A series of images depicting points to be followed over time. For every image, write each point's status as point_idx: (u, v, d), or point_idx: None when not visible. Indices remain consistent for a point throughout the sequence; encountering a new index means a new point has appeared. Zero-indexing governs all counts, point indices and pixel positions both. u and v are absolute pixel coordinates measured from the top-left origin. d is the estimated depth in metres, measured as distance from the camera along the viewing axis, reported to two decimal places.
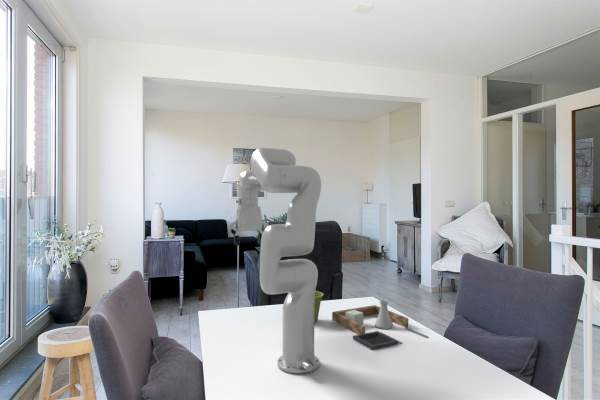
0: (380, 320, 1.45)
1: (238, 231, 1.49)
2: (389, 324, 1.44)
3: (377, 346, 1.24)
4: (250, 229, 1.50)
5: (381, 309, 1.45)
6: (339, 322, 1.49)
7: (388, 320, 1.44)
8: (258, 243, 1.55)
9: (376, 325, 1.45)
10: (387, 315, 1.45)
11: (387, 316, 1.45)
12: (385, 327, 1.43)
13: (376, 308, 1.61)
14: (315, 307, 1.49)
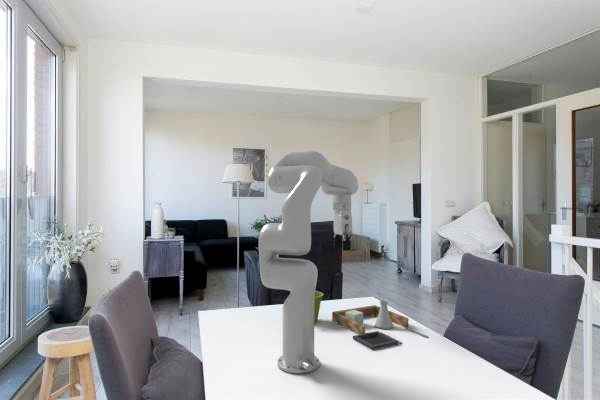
0: (380, 320, 1.45)
1: None
2: (389, 324, 1.44)
3: (377, 346, 1.24)
4: None
5: (381, 309, 1.45)
6: (339, 322, 1.49)
7: (388, 320, 1.44)
8: (337, 246, 1.58)
9: (376, 325, 1.45)
10: (387, 315, 1.45)
11: (387, 316, 1.45)
12: (385, 327, 1.43)
13: (376, 308, 1.61)
14: (315, 307, 1.49)
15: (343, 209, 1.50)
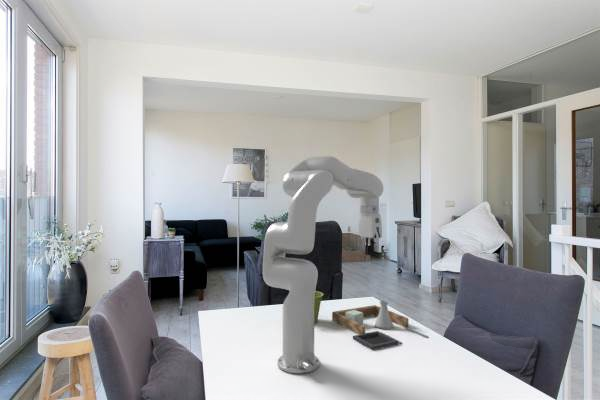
0: (380, 320, 1.45)
1: None
2: (389, 324, 1.44)
3: (377, 346, 1.24)
4: None
5: (381, 309, 1.45)
6: (339, 322, 1.49)
7: (388, 320, 1.44)
8: None
9: (376, 325, 1.45)
10: (387, 315, 1.45)
11: (387, 316, 1.45)
12: (385, 327, 1.43)
13: (376, 308, 1.61)
14: (315, 307, 1.49)
15: (373, 212, 1.51)
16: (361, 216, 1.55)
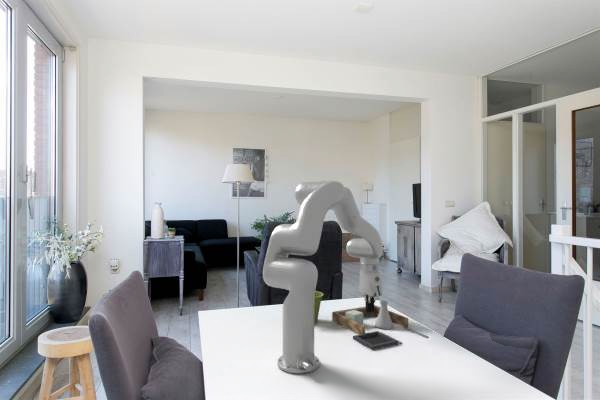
0: (380, 320, 1.45)
1: None
2: (389, 324, 1.44)
3: (377, 346, 1.24)
4: None
5: (381, 309, 1.45)
6: (339, 322, 1.49)
7: (388, 320, 1.44)
8: None
9: (376, 325, 1.45)
10: (387, 315, 1.45)
11: (387, 316, 1.45)
12: (385, 327, 1.43)
13: (376, 308, 1.61)
14: (315, 307, 1.49)
15: (373, 271, 1.51)
16: (361, 273, 1.56)
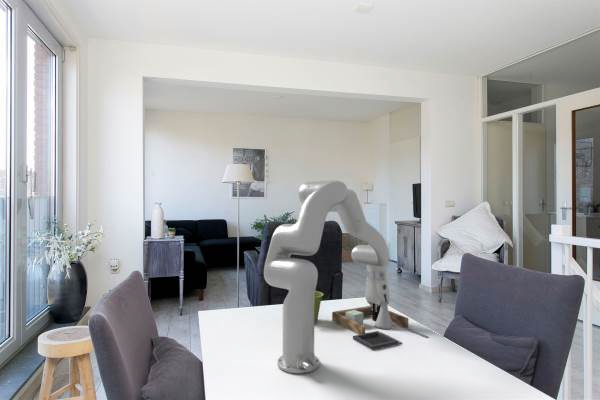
0: (380, 320, 1.45)
1: None
2: (389, 324, 1.44)
3: (377, 346, 1.24)
4: None
5: (381, 309, 1.45)
6: (339, 322, 1.49)
7: (388, 320, 1.44)
8: None
9: (376, 325, 1.45)
10: (387, 315, 1.45)
11: (387, 316, 1.44)
12: (385, 327, 1.43)
13: None
14: (315, 307, 1.49)
15: (380, 278, 1.47)
16: (368, 280, 1.51)
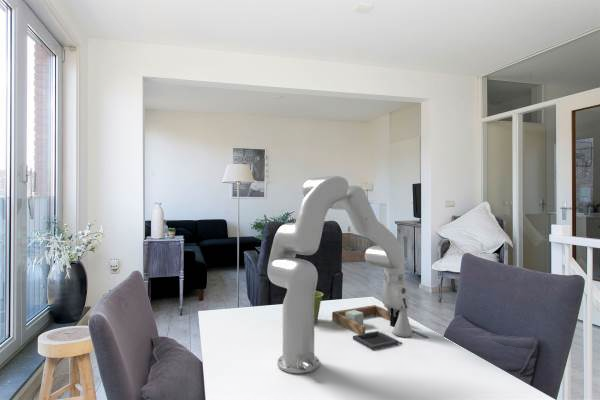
0: (398, 326, 1.36)
1: None
2: (408, 332, 1.35)
3: (377, 346, 1.24)
4: None
5: (400, 315, 1.37)
6: (339, 322, 1.49)
7: (407, 327, 1.36)
8: None
9: (394, 332, 1.37)
10: (406, 322, 1.36)
11: (406, 323, 1.36)
12: (403, 335, 1.35)
13: (376, 308, 1.61)
14: (315, 307, 1.49)
15: (399, 282, 1.38)
16: (385, 284, 1.43)
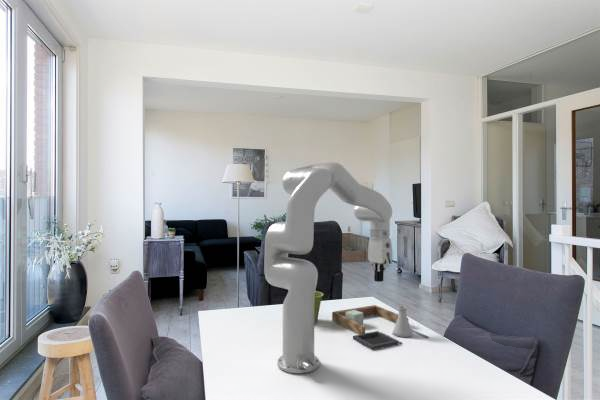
0: (398, 327, 1.37)
1: None
2: (408, 332, 1.35)
3: (377, 346, 1.24)
4: None
5: (399, 316, 1.37)
6: (339, 322, 1.49)
7: (407, 328, 1.36)
8: None
9: (394, 332, 1.37)
10: (406, 322, 1.36)
11: (406, 323, 1.36)
12: (403, 335, 1.35)
13: (376, 308, 1.61)
14: (315, 307, 1.49)
15: (384, 237, 1.44)
16: (371, 240, 1.48)
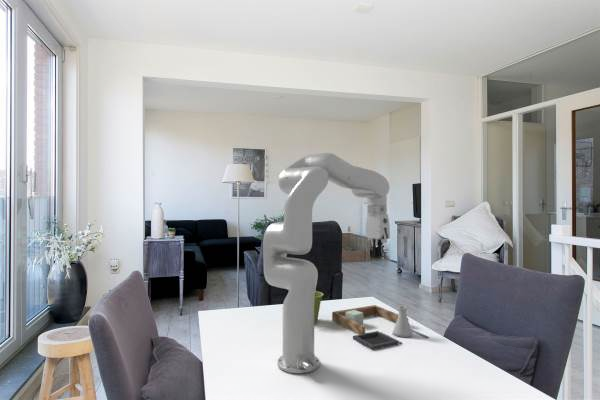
0: (398, 327, 1.37)
1: None
2: (408, 332, 1.35)
3: (377, 346, 1.24)
4: None
5: (399, 316, 1.37)
6: (339, 322, 1.49)
7: (407, 328, 1.36)
8: None
9: (394, 332, 1.37)
10: (406, 322, 1.36)
11: (406, 323, 1.36)
12: (403, 335, 1.35)
13: (376, 308, 1.61)
14: (315, 307, 1.49)
15: (381, 212, 1.45)
16: (368, 216, 1.50)
